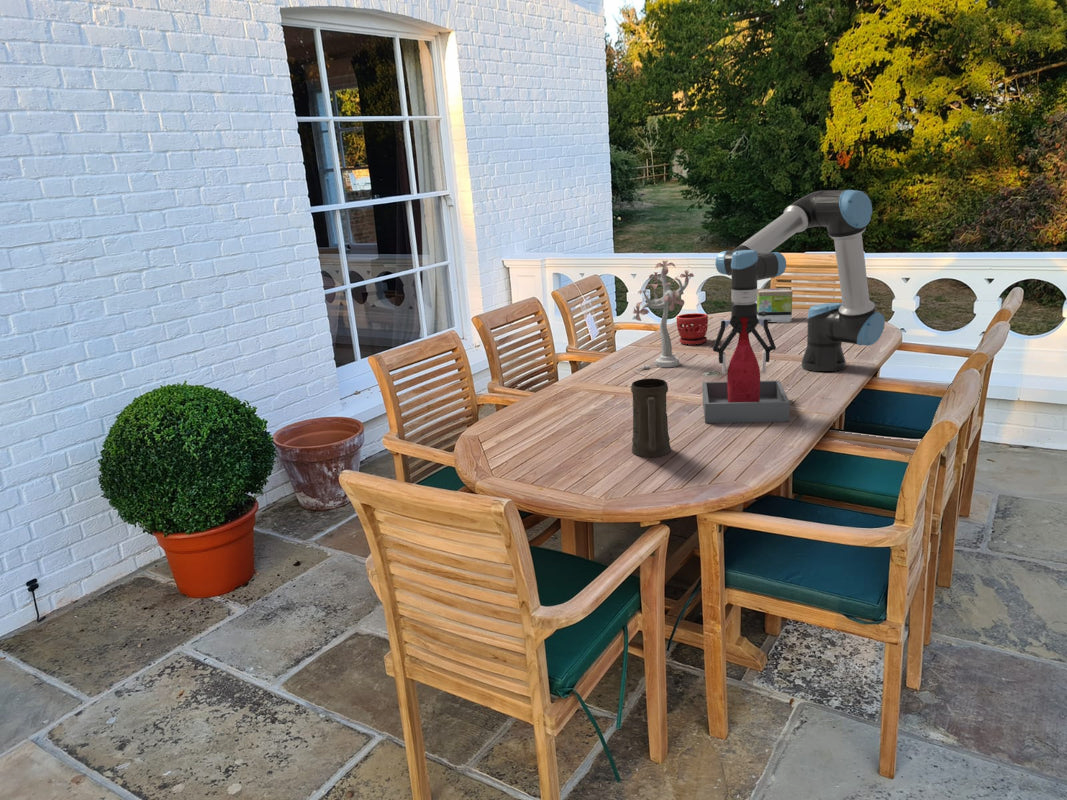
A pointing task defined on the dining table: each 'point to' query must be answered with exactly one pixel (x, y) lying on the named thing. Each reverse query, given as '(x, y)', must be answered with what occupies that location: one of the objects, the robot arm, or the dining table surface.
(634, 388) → the beer stein
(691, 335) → the plant pot
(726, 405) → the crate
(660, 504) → the dining table surface
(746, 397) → the wine bottle
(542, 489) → the dining table surface
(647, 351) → the dining table surface
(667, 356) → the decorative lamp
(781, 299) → the tea box
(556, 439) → the dining table surface
